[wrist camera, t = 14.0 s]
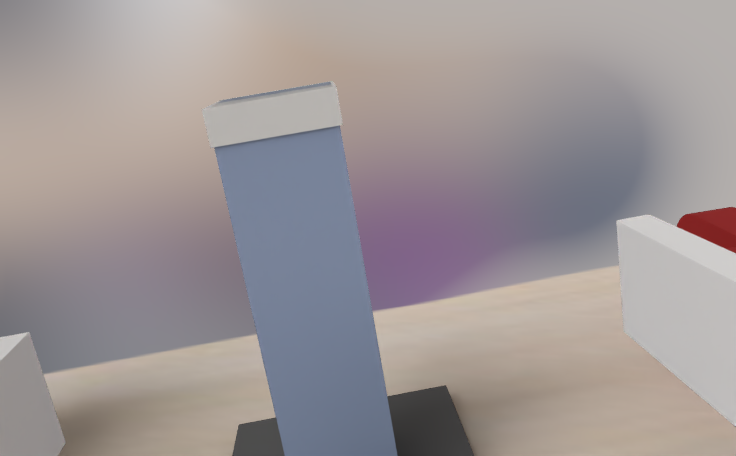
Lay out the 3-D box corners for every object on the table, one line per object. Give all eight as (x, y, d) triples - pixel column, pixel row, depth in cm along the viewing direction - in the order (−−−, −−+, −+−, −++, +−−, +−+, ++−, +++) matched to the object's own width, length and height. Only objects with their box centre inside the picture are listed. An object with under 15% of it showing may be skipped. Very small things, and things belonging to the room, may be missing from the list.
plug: (295, 515, 24) (201, 109, 20) (297, 449, 28) (220, 100, 24) (407, 493, 24) (336, 86, 20) (393, 430, 28) (332, 81, 24)
